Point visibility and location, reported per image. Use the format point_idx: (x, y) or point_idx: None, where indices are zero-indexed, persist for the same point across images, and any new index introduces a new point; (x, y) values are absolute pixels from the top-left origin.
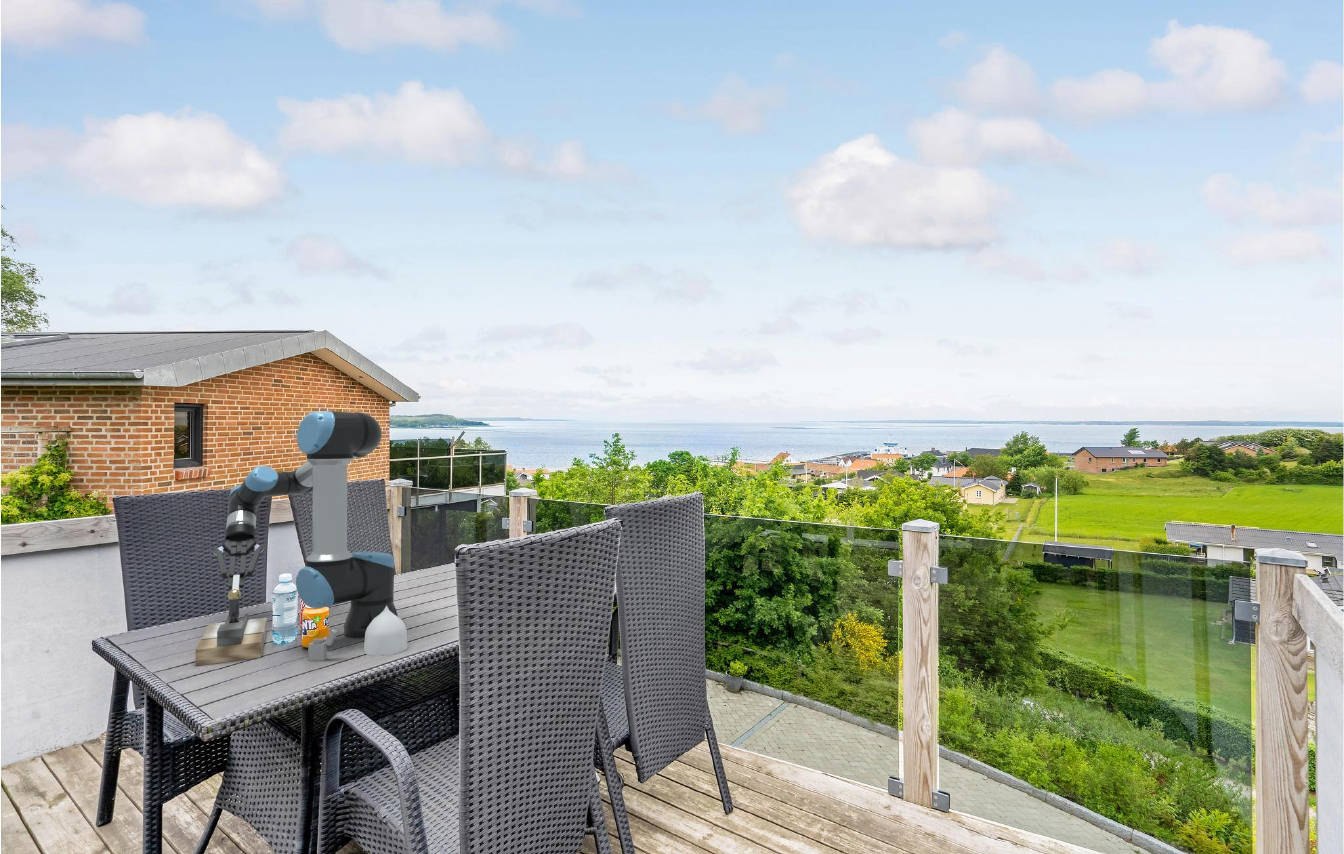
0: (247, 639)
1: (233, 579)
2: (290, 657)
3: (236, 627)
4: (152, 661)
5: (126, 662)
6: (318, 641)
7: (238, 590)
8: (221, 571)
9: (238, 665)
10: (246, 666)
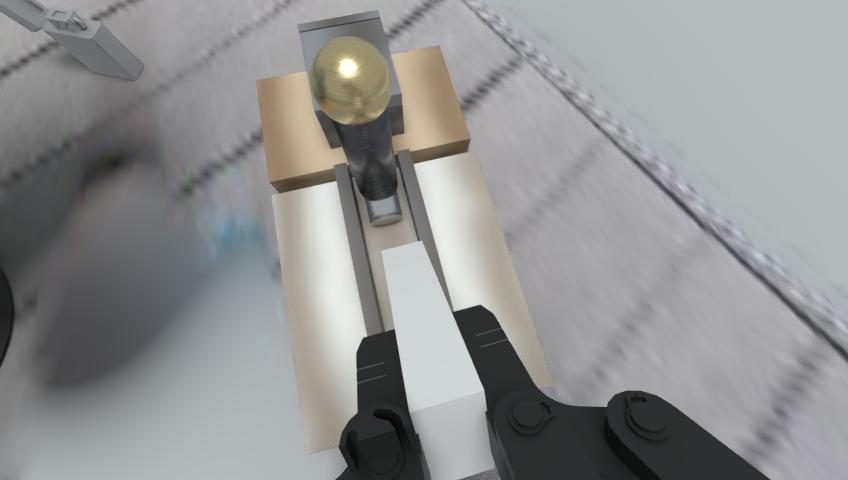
0: (308, 115)
1: (458, 339)
2: (193, 99)
3: (321, 41)
4: (578, 141)
5: (649, 147)
6: (63, 13)
7: (317, 61)
8: (696, 428)
9: None
10: (299, 54)
